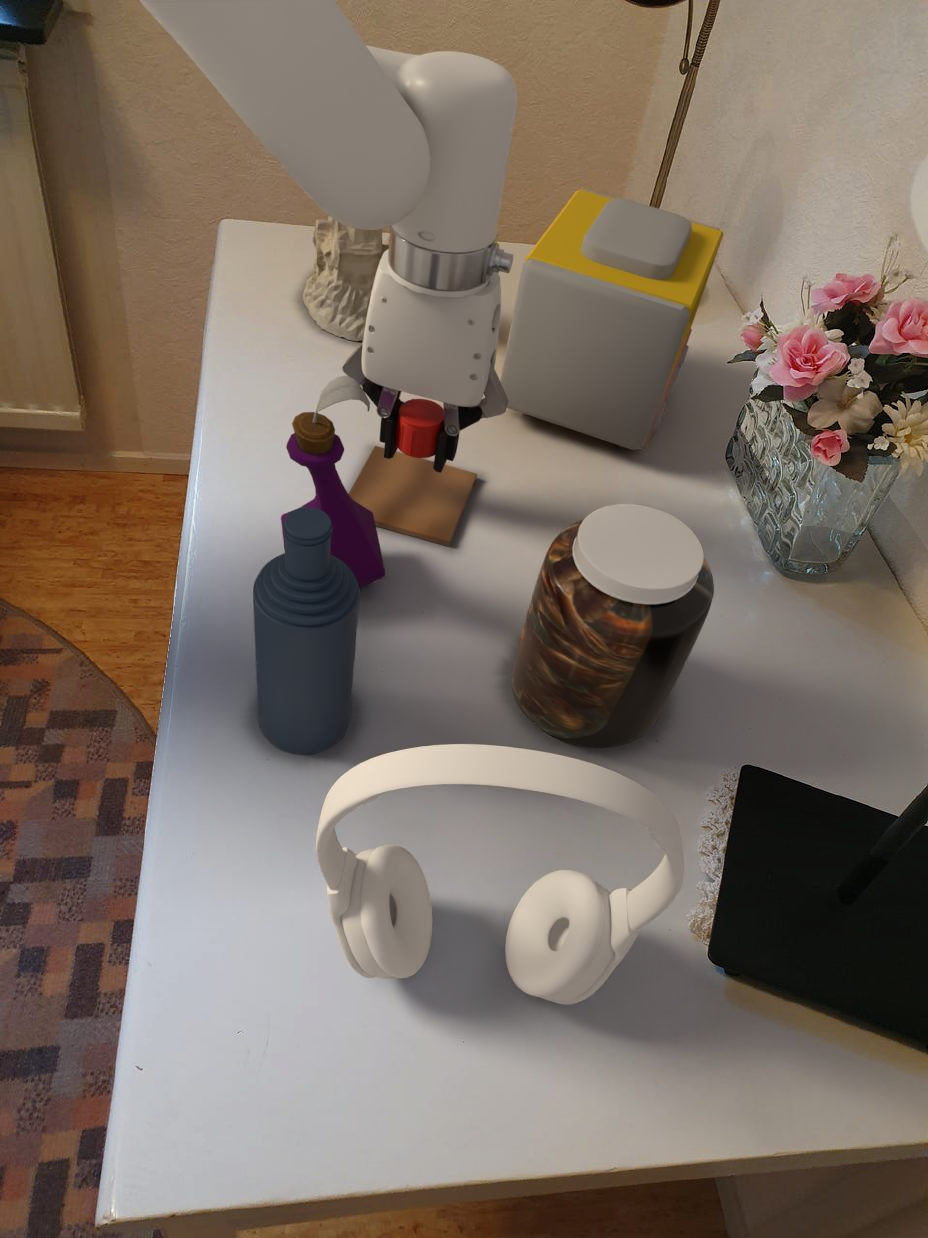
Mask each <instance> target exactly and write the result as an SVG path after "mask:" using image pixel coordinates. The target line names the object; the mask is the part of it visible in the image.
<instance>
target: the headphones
mask: <svg viewBox="0 0 928 1238" xmlns="http://www.w3.org/2000/svg"><path fill="white" fill-rule="evenodd" d="M434 785H436V786H437V785H477V786H478V785H479V786H480V785H481V786H493V787H503V788H513V789H520V790H526V791H535V792H538V793H539V792H540V793H545V794H551V795H556V796H560V797H561V796H562V797H565V798H569V799H575V800H578V801H582V802H586V803H589V804H592V805H596V806H598V807H602V808H605V809H607V810H609V811H612V812H614V813H618V814H619V815H622V816H625V817H626V818H629V819H631V820H632V821H634V822H637V823H639V824H640V825H642V826H644V827H645V828H646V829H647V830H648V832H649V834H650V836H651V837H652V839H653V840H654V841H655V843H656V844H657V845H658V846H659V847H660V848H661V850H662V852H664V856H663V858H662V860H661V862H660V863H659V865H658V866H657V867H656V869H655V870H653V872H652V873H651V874H649V876H648V877H647V878H645V879H644V880H643V881H642V882H641V883H640V882H639V884H638V885H636V886H635V887H634V888H630V887H628V886H627V887H619V888H616V889H614V890H612V891H611V890H609V889H608V888H606V887H604V886H603V885H602V884H600V883H599V882H597V881H595V880H594V879H593V878H592V877H590V876H589V875H587V874H585V873H583V872H580V871H577V870H574V869H558V870H554V871H552V872H549V873H547V874H545V875H543V876H542V877H540V878H539V879H537V880H536V881H535V882H534V883H533V884H532V885H531V886H530V887H529V888H528V890H527V891H526V892H525V893H524V894H523V896H522V897H521V898H520V900H519V902H518V903H517V906H516V907H515V909H514V910H513V911H514V912H513V913H512V916H511V919H510V921H509V924H508V928H507V933H506V939H505V949H504V950H505V961H506V962H505V963H506V967H507V970H508V973H509V976H510V978H511V980H512V981H513V982H514V984H515V986H516V987H517V988H518V989H519V990H521V991H522V992H523V993H525V994H527V995H529V996H532V997H536V998H541V999H543V1000H545V1001H549V1002H554V1003H556V1004H560V1005H574V1004H578V1003H580V1002H583V1001H584V1000H586V999H588V998H590V997H591V996H592V995H593V994H594V993H596V992H597V991H598V990H599V989H600V988H601V987H602V986H603V985H604V983H605V982H606V981H607V980H608V978H609V977H610V976H611V974H612V973H613V972H614V970H615V969H616V967H617V966H618V965H619V964H620V963H621V961H622V960H623V959H624V958H625V957H626V955H627V954H628V952H629V951H630V949H631V948H632V947H633V944H634V943H635V941H636V940H637V938H638V937H639V932H640V930H642V929H643V928H644V927H646V926H647V925H648V924H650V923H651V922H652V921H654V920H655V919H656V918H658V917H659V916H660V915H662V914H663V912H665V911H666V910H667V909H668V908H669V906H670V905H672V904H673V902H674V901H675V899H676V897H677V896H678V894H679V892H680V890H681V888H682V884H683V881H684V875H685V874H684V873H685V860H684V859H685V857H684V847H683V840H682V839H683V838H682V833H681V829H680V826H679V824H678V821H677V819H676V817H675V815H674V813H673V812H672V811H671V809H670V808H669V806H668V805H666V803H665V802H664V801H663V800H662V799H661V798H660V797H658V796H657V795H656V794H655V793H654V792H652V791H650V790H649V789H648V788H646V787H645V786H644V785H642V784H640V783H638V782H636V781H635V780H633V779H631V778H629V777H627V776H625V775H623V774H621V773H618V772H616V771H614V770H612V769H608V768H606V767H603V766H600V765H598V764H595V763H592V762H588V761H585V760H583V759H579V758H574V757H571V756H566V755H561V754H558V753H552V752H547V751H541V750H536V749H535V750H534V749H527V748H521V747H513V746H507V745H506V746H504V745H494V744H480V743H479V744H476V743H454V744H453V743H449V744H446V743H445V744H433V745H423V746H417V747H410V748H406V749H405V748H404V749H399V750H394V751H391V752H387V753H383V754H380V755H376V756H374V757H371V758H369V759H366V760H363V761H362V762H360V763H358V764H356V765H355V766H353V767H351V768H350V769H348V770H347V771H346V772H345V773H344V774H342V775H341V776H340V777H339V778H338V779H336V781H335V782H334V783H333V785H332V786H331V787H330V789H329V790H328V792H327V794H326V797H325V799H324V801H323V804H322V808H321V812H320V815H319V819H318V826H317V830H316V838H315V853H316V854H315V855H316V860H317V864H318V867H319V869H320V872H321V875H322V876H323V878H324V881H325V883H326V895H327V904H328V910H329V915H330V919H331V922H332V925H333V929H334V931H335V935H336V938H337V941H338V944H339V946H340V949H341V951H342V953H343V956H344V958H345V960H346V961H347V963H348V964H349V966H350V968H352V969H353V970H354V971H355V972H356V973H357V974H358V975H360V976H361V977H364V978H366V979H375V978H377V979H389V978H396V979H406V978H410V977H412V976H413V975H415V974H416V973H417V972H419V970H420V969H421V968H422V966H423V965H424V963H425V961H426V959H427V957H428V954H429V951H430V946H431V942H432V937H433V907H432V900H431V895H430V894H431V893H430V890H429V886H428V882H427V880H426V877H425V873H424V872H423V870H422V867H421V865H420V864H419V862H418V860H417V859H416V858H415V856H414V855H413V854H412V853H411V852H410V851H409V850H408V849H406V847H405V848H404V847H403V846H401V845H397V844H385V845H381V846H377V847H376V848H369V849H365V850H363V851H357V852H354V851H353V850H352V849H350V848H348V847H342V845H341V842H340V840H339V838H338V835H337V832H336V826H337V825H338V823H339V822H340V821H341V820H342V819H343V818H345V817H346V816H347V815H348V814H350V813H351V812H353V811H354V810H356V809H358V808H360V807H362V806H364V805H367V804H369V803H372V802H373V801H375V800H377V799H378V798H379V797H380V796H381V795H383V793H385V792H390V791H393V790H394V791H395V790H398V789H407V788H413V787H421V786H434Z"/></svg>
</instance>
